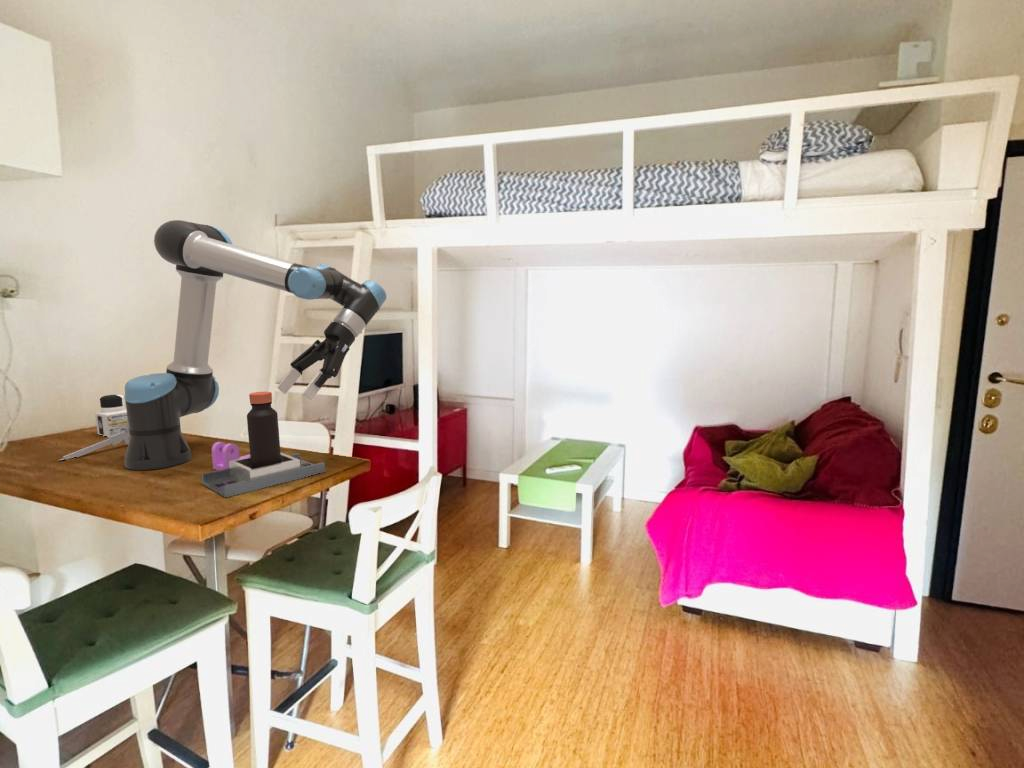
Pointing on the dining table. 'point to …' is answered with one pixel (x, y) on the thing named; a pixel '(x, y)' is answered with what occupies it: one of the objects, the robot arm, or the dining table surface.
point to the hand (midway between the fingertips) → (293, 393)
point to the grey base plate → (258, 475)
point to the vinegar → (263, 431)
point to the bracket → (224, 455)
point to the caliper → (102, 444)
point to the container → (111, 415)
